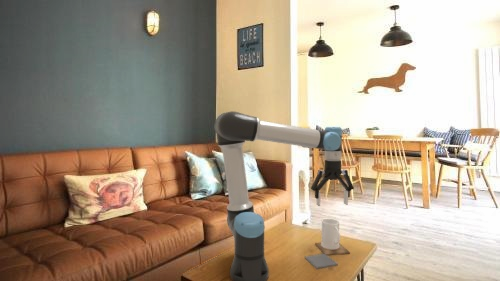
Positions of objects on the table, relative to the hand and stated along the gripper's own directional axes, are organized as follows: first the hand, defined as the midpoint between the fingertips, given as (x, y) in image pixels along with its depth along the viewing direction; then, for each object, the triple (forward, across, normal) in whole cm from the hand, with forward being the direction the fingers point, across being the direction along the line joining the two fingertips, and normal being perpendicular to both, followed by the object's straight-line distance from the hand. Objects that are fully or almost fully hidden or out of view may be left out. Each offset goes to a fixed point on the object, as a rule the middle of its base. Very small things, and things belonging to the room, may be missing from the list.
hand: (332, 204), depth 134 cm
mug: (+21, 0, 0) cm, 21 cm away
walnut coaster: (+21, 0, 0) cm, 21 cm away
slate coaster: (+21, -10, -11) cm, 26 cm away
